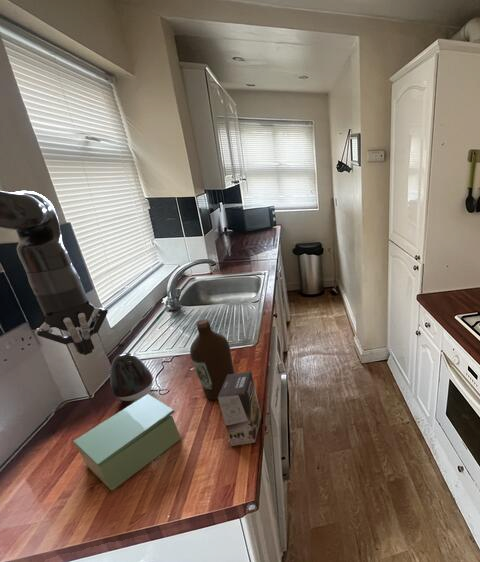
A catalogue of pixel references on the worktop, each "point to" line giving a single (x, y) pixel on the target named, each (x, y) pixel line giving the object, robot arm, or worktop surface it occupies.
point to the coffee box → (240, 408)
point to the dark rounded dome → (130, 377)
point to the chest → (135, 454)
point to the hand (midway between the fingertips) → (87, 353)
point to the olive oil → (211, 359)
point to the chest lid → (122, 429)
